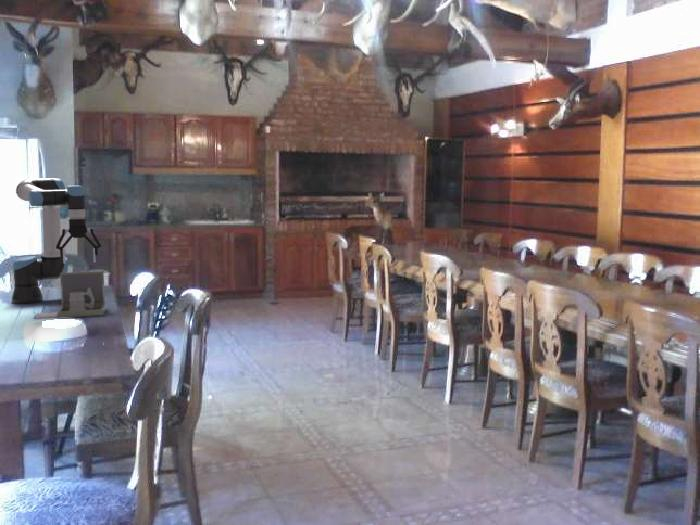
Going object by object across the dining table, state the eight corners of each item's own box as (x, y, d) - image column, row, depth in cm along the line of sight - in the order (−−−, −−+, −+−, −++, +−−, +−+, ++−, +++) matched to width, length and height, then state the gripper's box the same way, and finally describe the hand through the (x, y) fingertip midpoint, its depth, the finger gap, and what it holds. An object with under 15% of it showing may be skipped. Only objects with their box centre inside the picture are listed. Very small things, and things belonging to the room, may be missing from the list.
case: (62, 311, 364) (60, 272, 361) (105, 308, 369) (103, 270, 367) (58, 318, 346) (55, 278, 343) (103, 315, 351) (101, 276, 349)
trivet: (36, 314, 355) (36, 313, 355) (58, 313, 358) (58, 312, 358) (33, 318, 346) (33, 317, 346) (56, 317, 348) (56, 316, 348)
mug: (68, 312, 357) (66, 287, 356) (93, 310, 363) (92, 285, 362) (70, 315, 351) (69, 290, 349) (96, 312, 356) (95, 288, 355)
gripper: (48, 219, 344) (50, 264, 347) (104, 217, 351) (106, 262, 353) (50, 218, 352) (52, 263, 354) (105, 217, 358) (107, 260, 361)
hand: (79, 262), depth 354 cm, fingers open, 13 cm apart
